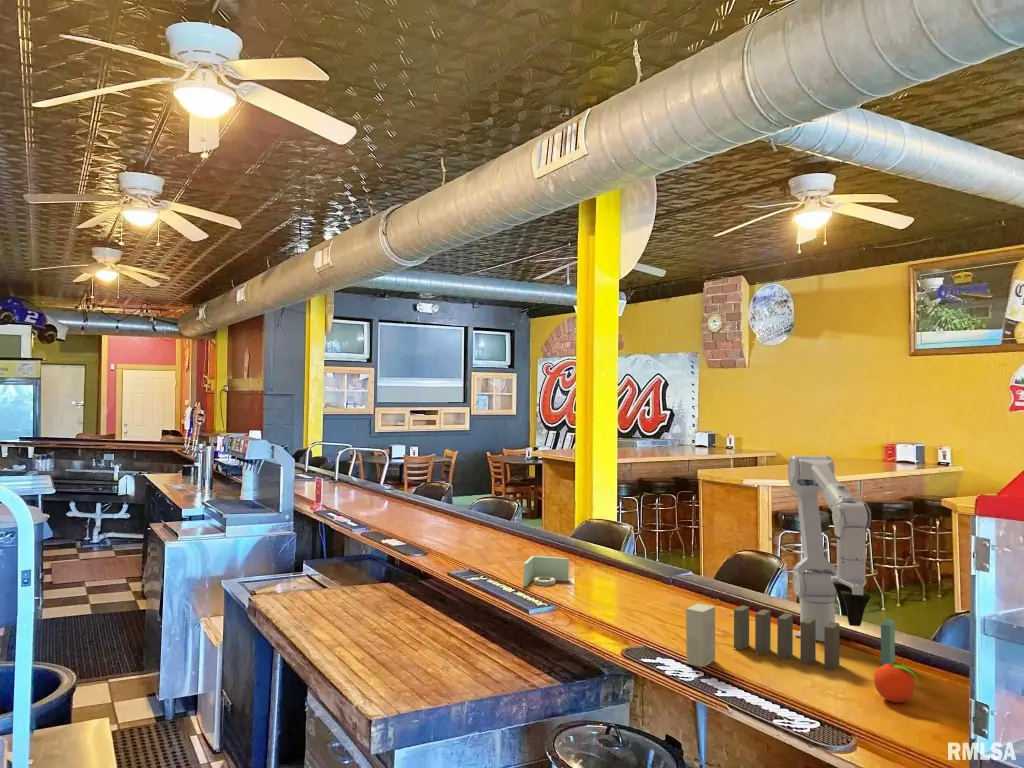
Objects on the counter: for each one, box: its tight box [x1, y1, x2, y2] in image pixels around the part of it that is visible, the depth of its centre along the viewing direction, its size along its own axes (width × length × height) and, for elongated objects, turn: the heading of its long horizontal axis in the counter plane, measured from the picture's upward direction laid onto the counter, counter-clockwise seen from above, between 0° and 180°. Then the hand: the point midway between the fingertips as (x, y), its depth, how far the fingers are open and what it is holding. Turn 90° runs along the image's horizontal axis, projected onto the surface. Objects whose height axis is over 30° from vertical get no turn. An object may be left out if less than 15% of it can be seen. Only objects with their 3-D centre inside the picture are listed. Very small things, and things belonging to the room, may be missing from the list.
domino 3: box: [776, 612, 794, 661], centre depth 167 cm, size 2×5×9 cm, turn 142°
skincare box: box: [685, 603, 716, 668], centre depth 162 cm, size 6×4×12 cm
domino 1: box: [733, 605, 750, 651], centre depth 173 cm, size 2×5×9 cm, turn 142°
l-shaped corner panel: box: [522, 555, 570, 587], centre depth 232 cm, size 12×12×8 cm
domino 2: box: [754, 608, 772, 656], centre depth 170 cm, size 2×5×9 cm, turn 142°
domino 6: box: [880, 618, 896, 667], centre depth 163 cm, size 2×5×9 cm, turn 142°
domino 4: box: [799, 617, 817, 666], centre depth 164 cm, size 2×5×9 cm, turn 142°
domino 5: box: [823, 621, 840, 672], centre depth 160 cm, size 2×5×9 cm, turn 142°
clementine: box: [873, 663, 921, 703], centre depth 142 cm, size 8×7×7 cm
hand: (850, 620), depth 162 cm, fingers open, 7 cm apart
